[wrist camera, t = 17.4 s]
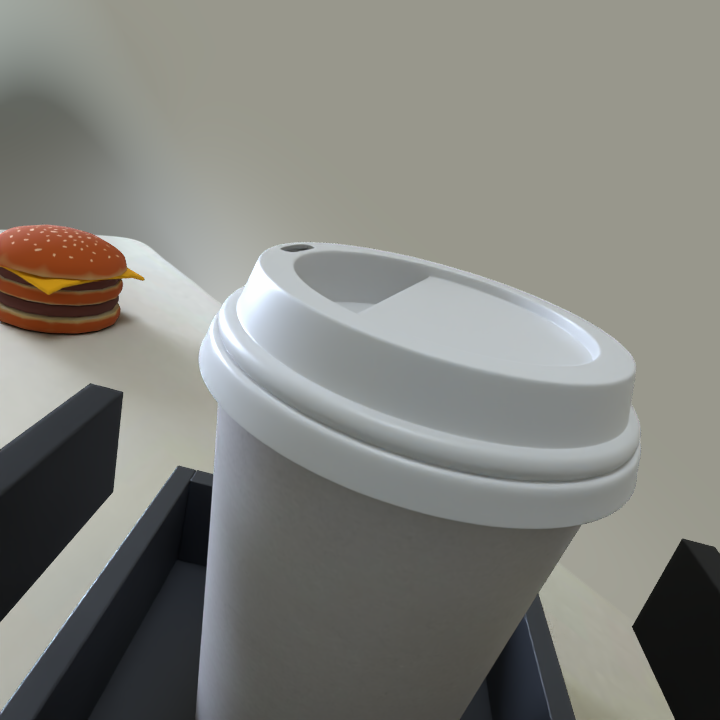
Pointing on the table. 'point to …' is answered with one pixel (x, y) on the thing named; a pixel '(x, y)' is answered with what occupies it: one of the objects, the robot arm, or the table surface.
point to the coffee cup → (393, 479)
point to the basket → (184, 631)
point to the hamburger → (59, 279)
